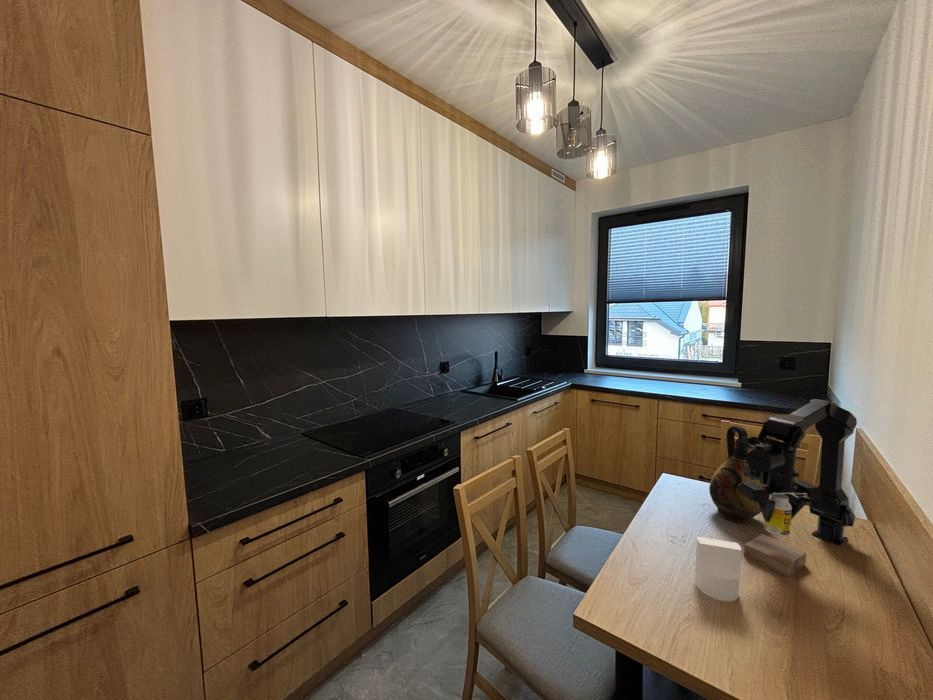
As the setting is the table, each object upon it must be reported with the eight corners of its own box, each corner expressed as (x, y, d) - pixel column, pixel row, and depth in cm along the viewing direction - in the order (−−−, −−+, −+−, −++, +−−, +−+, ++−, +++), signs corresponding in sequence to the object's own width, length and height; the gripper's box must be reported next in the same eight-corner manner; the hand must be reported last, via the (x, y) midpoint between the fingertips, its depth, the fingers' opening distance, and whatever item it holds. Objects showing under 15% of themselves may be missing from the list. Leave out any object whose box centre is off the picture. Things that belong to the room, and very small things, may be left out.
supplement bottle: (785, 540, 98) (788, 502, 97) (760, 530, 103) (762, 494, 102) (793, 533, 101) (796, 496, 100) (768, 523, 106) (770, 488, 105)
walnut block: (761, 546, 110) (762, 533, 109) (805, 566, 101) (806, 552, 100) (743, 557, 105) (744, 544, 104) (787, 579, 96) (788, 564, 96)
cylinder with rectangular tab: (731, 581, 95) (734, 536, 94) (744, 607, 87) (747, 558, 86) (690, 573, 98) (693, 529, 97) (699, 598, 90) (702, 550, 88)
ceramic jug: (777, 528, 118) (784, 435, 115) (727, 528, 118) (733, 436, 115) (739, 501, 135) (744, 420, 132) (695, 501, 135) (700, 420, 132)
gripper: (787, 453, 109) (783, 504, 110) (725, 455, 108) (722, 506, 109) (825, 468, 98) (821, 525, 99) (756, 471, 97) (753, 528, 98)
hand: (777, 520), depth 102 cm, fingers closed on supplement bottle, 5 cm apart
